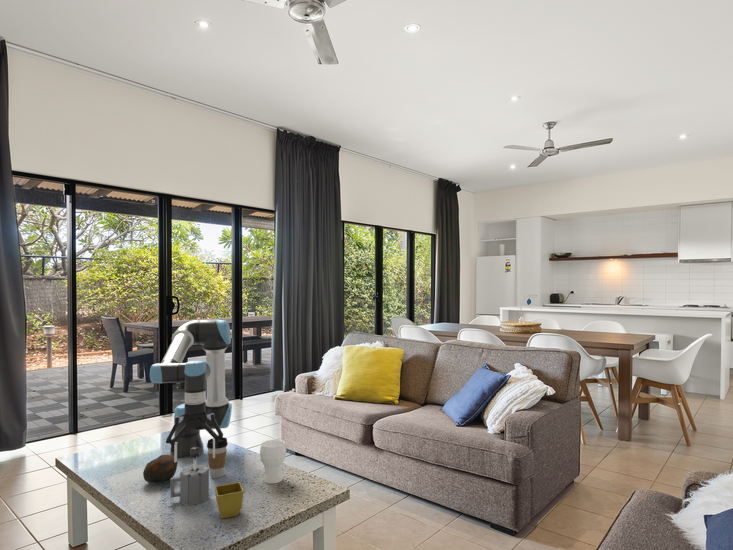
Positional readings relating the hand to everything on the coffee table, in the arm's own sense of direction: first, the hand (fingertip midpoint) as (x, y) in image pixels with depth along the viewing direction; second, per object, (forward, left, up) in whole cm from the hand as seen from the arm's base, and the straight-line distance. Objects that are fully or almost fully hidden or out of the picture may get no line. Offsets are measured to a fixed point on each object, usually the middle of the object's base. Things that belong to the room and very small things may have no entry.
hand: (195, 459), depth 175 cm
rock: (-21, -14, -15) cm, 29 cm away
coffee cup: (-21, +8, -15) cm, 27 cm away
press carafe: (0, -2, -15) cm, 15 cm away
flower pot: (+17, +12, -15) cm, 26 cm away
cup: (-8, +30, -15) cm, 34 cm away
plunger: (0, 0, -12) cm, 13 cm away
